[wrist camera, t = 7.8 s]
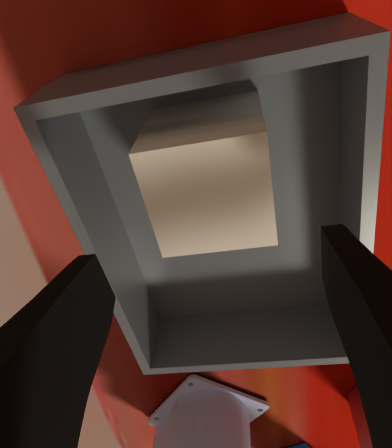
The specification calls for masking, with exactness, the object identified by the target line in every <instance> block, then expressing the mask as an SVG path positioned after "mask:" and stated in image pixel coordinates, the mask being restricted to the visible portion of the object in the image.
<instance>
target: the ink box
mask: <svg viewBox="0 0 392 448" xmlns="http://www.w3.org/2000/svg"><path fill="white" fill-rule="evenodd" d="M288 448H311V447H310V446H308V445H307V444H306V443H303V444H299V445H296V446H292V447H288Z"/></svg>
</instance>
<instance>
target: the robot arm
mask: <svg viewBox="0 0 392 448" xmlns="http://www.w3.org/2000/svg"><path fill="white" fill-rule="evenodd" d="M321 255H322V279H323V283H324V288H325V292H326V296H327V300H328V305H329V308H330V311H331V314H332V317H333V319H334V322H335V325H336V328H337V330H338V333H339V336H340V339H341V341H342V344H343V347H344V350H345V352H346V355H347V358H348V361H349V363H350V366H351V369H352V371H353V374H354V377H355V381H356V384H357V387H358V390H359V394H360V398H361V402H362V406H363V410H364V413H365V417H366V421H367V425H368V429H369V433H370V437H371V441H372V445H373V448H392V270H391V269H390V268H388V267H387V266H386V265H385V264H384V263H383V262H382V261H381V260H379V259H378V258H377V257H376V256H375V255H374V254H373V253H372V252H371V251H370V250H369V249H368V248H367V247H366V246H365V245H364V244H362V243H361V242H360V241H359V240H358V238H357V237H356V236H355V235H354V234H353V233H352V232H351V231H350V230H349V229H348V228H347V227H346V226H345V225H343V224H336V225H328V226H321ZM115 299H116V296H115V294H114V292H113V290H112V288H111V286H110V284H109V281H108V279H107V277H106V275H105V273H104V271H103V269H102V266H101V264H100V262H99V260H98V258H97V256H96V254H89V255H81V256H78V257H77V258H75V259H74V260H73V261H72V262H71V263H70V264H69V265H68V266H66V267H65V268H64V269H63V270H62V271H61V272H60V273H59V274H58V275H57V276H56V277H55V278H54V279H53V280H52V281H51V282H50V283H49V284H48V285H47V286H46V287H44V288H43V289H42V290H41V291H40V292H39V293H38V294H37V295H36V296H35V297H34V298H33V299H32V300H31V301H30V302H29V303H28V304H26V305H25V306H24V307H23V308H22V309H21V310H20V311H18V312H17V313H16V314H15V315H14V316H13V317H12V318H11V319H10V320H9V321H7V322H6V323H5V324H4V325H3V326H1V327H0V448H77V446H78V441H79V436H80V431H81V426H82V421H83V417H84V412H85V407H86V403H87V399H88V396H89V392H90V388H91V385H92V382H93V379H94V376H95V373H96V370H97V367H98V364H99V361H100V358H101V355H102V352H103V349H104V346H105V342H106V339H107V336H108V333H109V330H110V326H111V322H112V317H113V312H114V305H115ZM268 409H269V403H268V402H267V401H264V400H261V399H259V398H256V397H254V396H251V395H248V394H246V393H243V392H240V391H238V390H235V389H232V388H230V387H227V386H224V385H222V384H219V383H217V382H214V381H211V380H209V379H206V378H203V377H201V376H198V375H195V374H192V375H189V376H188V377H187V378H186V379H185V380H184V381H183V382H182V383H181V385H180V386H179V387H178V388H177V389H176V390H175V391H174V392H173V393H172V394H171V395H170V396H169V397H168V398H167V399H166V400H165V401H164V402H163V403H162V404H161V405H160V406H159V407H158V408H157V409H156V410H155V412H154V413H153V414H152V415H151V416H150V417H149V418H148V421H147V422H148V424H149V425H152V426H155V427H156V430H155V436H154V442H153V448H251V441H250V422H252V421H253V420H254V419H256V418H257V417H258V416H260V415H261V414H262V413H264V412H265V411H266V410H268Z"/></svg>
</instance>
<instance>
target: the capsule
mask: <svg viewBox="0 0 392 448" xmlns="http://www.w3.org/2000/svg"><path fill="white" fill-rule="evenodd" d="M348 402H349V406H350V410H351V413H352V417H353V421H354V425H355V428H356V432H357V436H358V439H359V443H360V447H361V448H373V445H372V441H371V437H370V433H369V429H368V425H367V421H366V417H365V413H364V410H363V406H362V402H361V398H360V394H359V390H358V387H357V385H356V386H355V387H353V388H352V389H351V390H350V391H349V393H348Z"/></svg>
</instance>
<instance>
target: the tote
mask: <svg viewBox="0 0 392 448" xmlns="http://www.w3.org/2000/svg"><path fill="white" fill-rule="evenodd" d="M389 44H390V31H389V30H387V29H385V28H383V27H381V26H378V25H376V24H374V23H372V22H369V21H367V20H365V19H363V18H361V17H358V16H356V15H354V14H352V13H349V12H347V13H343V14H338V15H334V16H329V17H324V18H320V19H315V20H310V21H306V22H301V23H297V24H292V25H287V26H283V27H278V28H274V29H269V30H264V31H260V32H255V33H250V34H246V35H241V36H237V37H232V38H227V39H223V40H218V41H213V42H209V43H204V44H200V45H195V46H190V47H186V48H181V49H176V50H172V51H167V52H163V53H158V54H153V55H149V56H144V57H139V58H135V59H130V60H126V61H121V62H116V63H112V64H107V65H103V66H98V67H93V68H89V69H84V70H79V71H75V72H70V73H66V74H62V75H60V76H59V77H57V78H56V79H55V80H53V81H52V82H50V83H49V84H47V85H46V86H44V87H43V88H41V89H40V90H39V91H37V92H36V93H34V94H33V95H31V96H30V97H28V98H27V99H25V100H24V101H23V102H21V103H20V104H18V105H17V106H15V107H14V110H15V112H16V114H17V116H18V118H19V121H20V123H21V125H22V127H23V129H24V131H25V133H26V135H27V137H28V139H29V141H30V143H31V145H32V147H33V149H34V151H35V153H36V155H37V157H38V159H39V162H40V164H41V166H42V168H43V170H44V172H45V174H46V176H47V178H48V180H49V182H50V184H51V186H52V188H53V190H54V192H55V194H56V196H57V198H58V200H59V203H60V205H61V207H62V209H63V211H64V213H65V215H66V217H67V219H68V221H69V223H70V225H71V227H72V229H73V231H74V233H75V235H76V237H77V239H78V241H79V244H80V246H81V248H82V250H83V252H84V254H85V255H89V254H96V256H97V258H98V260H99V262H100V264H101V266H102V269H103V271H104V273H105V275H106V277H107V279H108V281H109V284H110V286H111V288H112V290H113V292H114V294H115V296H116V299H115V305H114V312H113V313H114V315H115V317H116V319H117V321H118V323H119V325H120V328H121V330H122V332H123V334H124V336H125V338H126V340H127V342H128V344H129V346H130V348H131V350H132V352H133V354H134V356H135V358H136V360H137V362H138V364H139V366H140V369H141V371H142V373H143V375H150V374H168V373H185V372H203V371H221V370H239V369H257V368H275V367H293V366H310V365H328V364H346V363H349V361H348V358H347V355H346V352H345V350H344V347H343V344H342V341H341V339H340V336H339V333H338V330H337V328H336V325H335V322H334V319H333V317H332V314H331V311H330V308H329V305H328V300H327V296H326V292H325V288H324V283H323V279H322V255H321V226H328V225H336V224H343V225H345V226H346V227H347V228H348V229H349V230H350V231H351V232H352V233H353V234H354V235H355V236H356V237H357V238H358V240H359V241H360V242H361V243H362V244H364V245H365V246H366V247H367V248H368V249H369V250H370V251H371V252H372V253H373V249H374V236H375V224H376V211H377V198H378V185H379V172H380V159H381V146H382V134H383V121H384V108H385V95H386V82H387V69H388V56H389ZM255 90H258V93H259V97H260V102H261V107H262V111H263V116H264V121H265V125H266V130H267V138H268V148H269V158H270V168H271V178H272V188H273V198H274V209H275V219H276V229H277V239H278V245H276V246H267V247H258V248H248V249H239V250H230V251H221V252H212V253H203V254H194V255H184V256H175V257H166V258H162V254H161V251H160V248H159V245H158V242H157V239H156V236H155V233H154V230H153V227H152V224H151V221H150V218H149V215H148V212H147V209H146V206H145V203H144V200H143V197H142V194H141V191H140V188H139V185H138V182H137V179H136V176H135V173H134V170H133V167H132V164H131V161H130V158H129V155H128V154H129V152H130V150H131V148H132V146H133V145H134V143H135V141H136V139H137V137H138V135H139V133H140V131H141V129H142V127H143V125H144V123H145V121H146V119H147V118H148V116H149V114H150V112H151V110H152V109H156V108H162V107H167V106H173V105H178V104H184V103H189V102H194V101H200V100H205V99H211V98H216V97H222V96H227V95H233V94H238V93H244V92H249V91H255Z"/></svg>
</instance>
